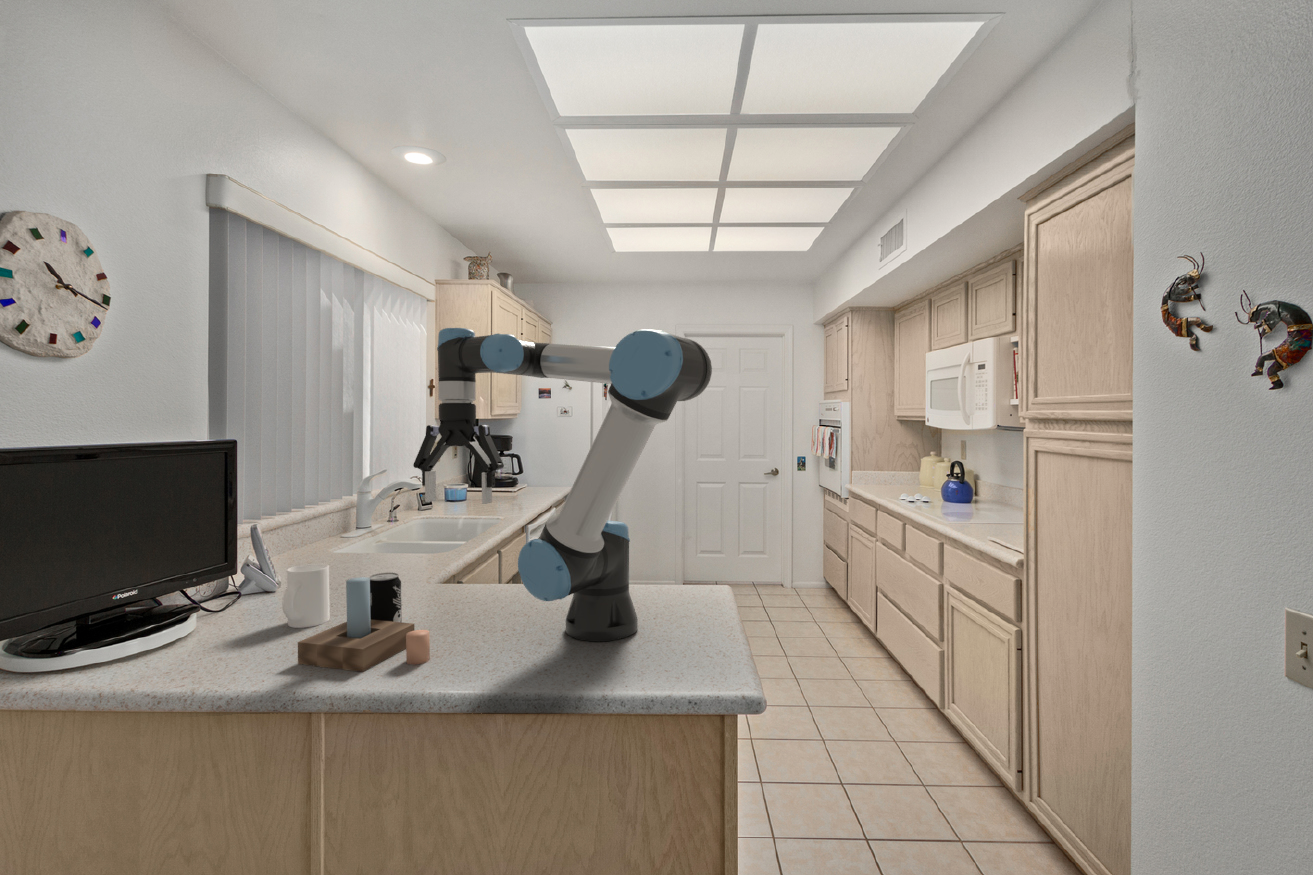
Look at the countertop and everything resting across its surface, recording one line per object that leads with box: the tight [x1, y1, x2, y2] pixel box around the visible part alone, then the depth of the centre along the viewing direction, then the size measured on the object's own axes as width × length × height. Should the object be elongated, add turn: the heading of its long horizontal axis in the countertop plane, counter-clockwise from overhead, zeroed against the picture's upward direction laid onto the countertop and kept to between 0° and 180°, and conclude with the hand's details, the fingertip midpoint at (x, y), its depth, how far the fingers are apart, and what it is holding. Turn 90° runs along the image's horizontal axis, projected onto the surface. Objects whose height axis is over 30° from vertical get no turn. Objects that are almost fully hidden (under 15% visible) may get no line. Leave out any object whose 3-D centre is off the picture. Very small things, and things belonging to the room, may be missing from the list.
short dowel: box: [405, 629, 431, 666], centre depth 111 cm, size 4×4×5 cm
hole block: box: [297, 619, 415, 673], centre depth 114 cm, size 14×14×4 cm
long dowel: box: [345, 576, 371, 639], centre depth 114 cm, size 4×4×14 cm
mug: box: [281, 563, 331, 629], centre depth 130 cm, size 8×12×12 cm
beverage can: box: [368, 572, 403, 622], centre depth 125 cm, size 7×7×12 cm
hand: (458, 502), depth 128 cm, fingers open, 13 cm apart
